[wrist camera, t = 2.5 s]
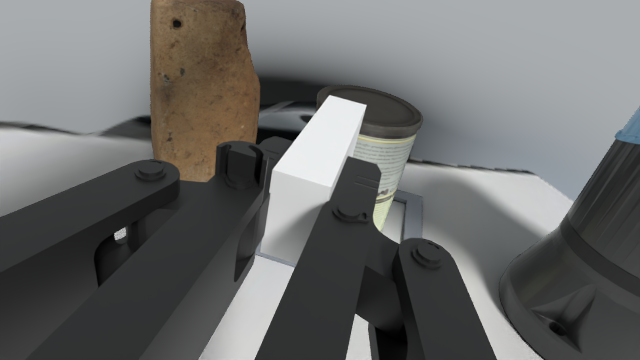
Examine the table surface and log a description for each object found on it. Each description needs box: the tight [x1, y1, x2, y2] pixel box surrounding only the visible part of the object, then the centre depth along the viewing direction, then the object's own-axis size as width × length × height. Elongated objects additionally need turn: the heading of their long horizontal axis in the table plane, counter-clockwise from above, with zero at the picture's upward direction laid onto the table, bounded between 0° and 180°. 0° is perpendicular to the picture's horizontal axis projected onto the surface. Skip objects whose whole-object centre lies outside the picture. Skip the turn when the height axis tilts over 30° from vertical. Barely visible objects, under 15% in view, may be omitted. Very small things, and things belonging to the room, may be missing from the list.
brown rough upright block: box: [150, 0, 260, 182], centre depth 40 cm, size 11×8×20 cm
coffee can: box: [315, 85, 423, 233], centre depth 40 cm, size 10×10×14 cm
